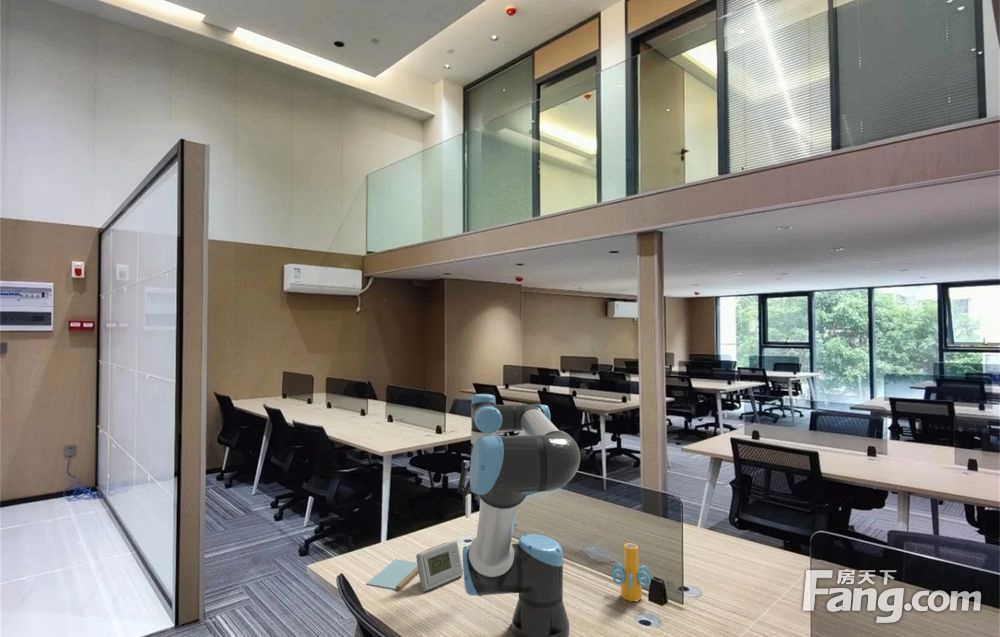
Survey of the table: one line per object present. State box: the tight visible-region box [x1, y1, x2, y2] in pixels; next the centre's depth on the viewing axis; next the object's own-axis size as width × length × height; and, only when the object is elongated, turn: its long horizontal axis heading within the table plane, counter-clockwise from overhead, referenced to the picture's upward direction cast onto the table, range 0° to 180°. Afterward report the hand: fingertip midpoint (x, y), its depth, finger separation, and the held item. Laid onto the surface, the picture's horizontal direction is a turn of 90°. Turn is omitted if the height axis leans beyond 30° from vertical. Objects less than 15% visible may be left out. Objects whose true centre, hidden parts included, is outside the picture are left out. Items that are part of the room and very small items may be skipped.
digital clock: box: [416, 540, 464, 592], centre depth 155 cm, size 16×9×11 cm, turn 123°
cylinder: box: [612, 542, 652, 602], centre depth 146 cm, size 12×10×15 cm
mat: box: [366, 558, 419, 591], centre depth 159 cm, size 12×18×1 cm, turn 162°
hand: (482, 518), depth 151 cm, fingers open, 9 cm apart
